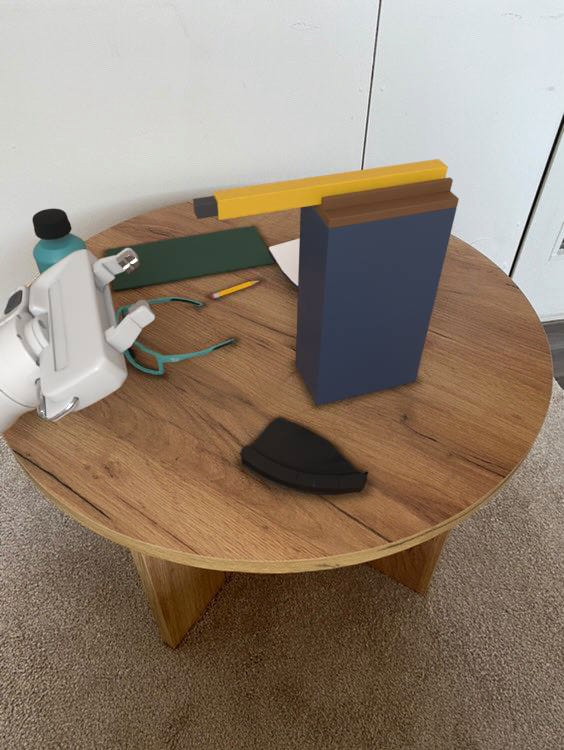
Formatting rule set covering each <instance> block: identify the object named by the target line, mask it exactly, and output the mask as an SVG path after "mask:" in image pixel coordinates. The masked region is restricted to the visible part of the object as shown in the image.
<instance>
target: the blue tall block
mask: <svg viewBox="0 0 564 750" xmlns="http://www.w3.org/2000/svg"><path fill="white" fill-rule="evenodd" d="M453 182H454V181H453V178H452V177H446V178H443V179H436V180H430V181H423V182H417V183H410V184H404V185H397V186H391V187H384V188H378V189H371V190H365V191H358V192H352V193H345V194H339V195H332V196H326V197H322V200H321V204H319V205H313V206H307V207H300V214H299V238H300V242H299V273H298V288H297V303H296V306H297V307H296V308H297V309H296V335H295V336H296V337H295V339H296V340H295V367H296V368H297V371H298V373H299V375H300V377H301V379H302V380H303V382H304V385H305V386H306V389H307V390H308V392H309V395H310V396H311V398H312V400H313V402H314V404H315V406H321V405H325V404H329V403H333V402H338V401H341V400H346V399H350V398H354V397H359V396H362V395H363V396H364V395H366V394H371V393H375V392H379V391H384V390H387V389H392V388H395V387H399V386H404V385H408V384H412V383H416V381H417V377H418V373H419V369H420V364H421V360H422V357H423V356H422V355H423V352H424V349H425V343H426V339H427V336H428V335H427V334H428V331H429V327H430V322H431V318H432V314H433V309H434V305H435V301H436V297H437V293H438V288H439V285H440V280H441V277H442V272H443V268H444V265H445V264H444V263H445V260H446V255H447V250H448V247H449V243H450V238H451V234H452V229H453V226H454V222H455V216H456V213H457V210H458V209H457V208H458V203H459V201H460V199H459V197H458V196H456V194H454V193H453V192H452V191H451V190H452V186H453Z"/></svg>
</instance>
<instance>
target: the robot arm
mask: <svg viewBox="0 0 564 750" xmlns="http://www.w3.org/2000/svg"><path fill="white" fill-rule="evenodd" d="M139 265H140V263H139V259H138V256H137V254H136V253H135V252H134V251H133V250H132V249H131V248H125V249H124V250H123V251H121V252H120V253H119V254H117V255H116V256H115V255H114V256H110V257H107V256H105V257H101V258H100V259H99V258H97V257H96V256H95V255H94V253H92V252H91V251H90V250H88V249H87V248H86V249H82V250H77V251H74V252H72V253H71V254H69V255H67V256H66V257H64V258H63V259H61V260H60V261H58V262H57V263H56V264H54V265H53V266H51V267H50V268H49V269H47V270H46V271H44V272H43V273H42V274H41V275H40V274H39V275H38V276H37V277H36V278H35V279H34V280H33V282H32V283H31V285H30V287H29V286H27V285H26V284H21V285H19V286H18V287H17V288H15V289H14V290H12V292H11V293H10V295H9V297H8V300H7V302H6V306H5V308H4V311H3V312H2V314H1V317H0V435H2V434H3V433H5V432H6V431H8V430H9V429H10V428H12V427H13V426H14V425H15V424H16V422H17V421H18V420H19V419H20V417H21V416H22V415H24V414H26V413H28V412H32V411H34V410H36V412H37V415H38V416H39V417H40V418H43V420H45V421H46V422H57V421H58V420H60V419H62V418H63V417H65V416H66V415H68V414H69V413H75V412H78V411H80V410H83V409H86V408H88V407H90V406H92V405H94V404H95V403H97V402H99V401H101V400H103V399H104V398H106V397H108V396H110V395H111V394H113V393H114V392H116V391H117V390H119V389H120V388H121V387H122V386H123V384H124V383H125V382H126V380H127V378H128V376H129V375H128V368H127V364H126V363H127V362H126V359H125V358H126V357H125V354H124V353H123V352H124V351H125V350H126V349H128V348H129V347H130V348H131V347H132V345H134V344H133V342H134V341H136V340H137V338H138V337H139V335H140V334H141V332H142V330H143V329H144V328H145V327H147V326H148V325H149V324H150V323H152V322H153V321H155V319H156V316H155V312H154V309H153V306H152V305H151V304H148V303H147V302H146V301H147V300H145V299H139V300H138V301H137V302H135V303H136V304H134V303H133V304H134V305H132V306H131V307H129V308H128V311H129V312H128V313H127V314H126V315H127V316H126V317H125V318H124V319H123V318H122V320H121V321H120V322H119V323H120V324H119V325H117V320H116V315H115V314H116V310H115V305H114V301H113V296H112V292H111V287H110V283H111V282H112V280H113V279H115V276H114V275H116V274H118V273H121V272H124V271H126V272H127V273H128V274H129V273H130V272H132V271H133V270H134V269H135V268H137V267H138V266H139Z"/></svg>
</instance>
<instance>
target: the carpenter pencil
mask: <svg viewBox="0 0 564 750" xmlns="http://www.w3.org/2000/svg"><path fill="white" fill-rule="evenodd" d="M448 167H449V166H448V165H446V164H445V163H444V162H443V161H441V160H440V159H439V158H436V159H429V160H421V161H413V162H408V163H407V162H406V163H400V164H394V165H387V166H380V167H373V168H365V169H359V170H352V171H345V172H338V173H330V174H325V175H318V176H317V175H316V176H311V177H304V178H296V179H290V180H284V181H283V180H282V181H276V182H268V183H262V184H261V183H260V184H256V185H247V186H241V187H235V188H229V189H221V190H214V191H212V195H211V196H202V197H196V198H193V199H192V203H193V212H194V215H195V218H196V219H197V220H200V219H207V218H214V217H217V219H218V220H219V221H223V220H229V219H230V220H231V219H236V218H243V217H248V216H254V215H261V214H262V215H263V214H267V213H274V212H280V211H286V210H293V209H299V208H300V209H301V207H307V206H313V205H319V204H321V200H322V197H326V196H332V195H339V194H345V193H352V192H358V191H365V190H371V189H378V188H384V187H391V186H397V185H404V184H410V183H417V182H423V181H430V180H436V179H443V178H447V174H448V169H449V168H448Z"/></svg>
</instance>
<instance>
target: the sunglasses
mask: <svg viewBox="0 0 564 750" xmlns="http://www.w3.org/2000/svg"><path fill="white" fill-rule="evenodd" d="M145 301H146V302H147V303H148V304H149V305H151V304H163V303H170V302H172V303H173V302H175V303H176V302H177V303H185V304H188V305H189V304H190V305H194V306H197V307H201V306H203V302H199V301H196V300H192V299H189V298H184V297H179V296H178V297H176V296H168V297H167V296H166V297H160V298H154V299H148V300H145ZM136 303H137V302H135V303H134V302H133V303H131V304H130V303H129V304H127V305H124V306H119V308H118V309H117V310H116V311H115V315H116V320H117V325H119V324H120V323H121V322H120V314H121V317H122V320H123V319H124V318H125V317H126V316H127V315H128V313H129V311H128V308H129V307H131V306H132V305H134V304H136ZM235 340H236V339H235V338H232V339H229V340H226V341H224V342H221V343H219V344H216V345H212V346H211V347H209V348H206V349H203V350H200V351H199V350H198V351H195V352H190V353H183V354H182V353H181V354H168V355H167V354H164V355H162V354H161V353H159V352H156V351H154V350H151V349H149V348H147V347H145V346H144V345H143V344H142V343H140V342H138V341H137V340H135V341H134V342H133V344H132V345H134V346H136V347H138V348H139V349H140V350H141V351H143V352H145V353H147V354H150V355H152V356H154V357H155V358H156V361H157V366H158V370H153V369H149V368H145V367H143V366H141V365H140V364H138V363H137V362H136V361H135V359H136V358H137V354H136V353H135V352H134V351H135V350H133V349H132V348H131V347H129V348H128V349H126V350H125V351H124V352H123V353H124V357H125V358H126V359H127V361H129V363H130V364H131V365H132V367H133V366H134V367H135V368H136V369H138V370H140V371H142V372H144V373H148V374H150V375H157V376H158V375H159V376H161V375H163V374H164V373H165V367H164V364H165V363H178V362H180V361H182V360H186V359H190V358H194V357H199V356H205V355H208V354H210V353H212V352H214V351H216V350H220V349H222V348H224V347H226V346H229V345H231V344H233V343H234V342H235Z"/></svg>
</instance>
